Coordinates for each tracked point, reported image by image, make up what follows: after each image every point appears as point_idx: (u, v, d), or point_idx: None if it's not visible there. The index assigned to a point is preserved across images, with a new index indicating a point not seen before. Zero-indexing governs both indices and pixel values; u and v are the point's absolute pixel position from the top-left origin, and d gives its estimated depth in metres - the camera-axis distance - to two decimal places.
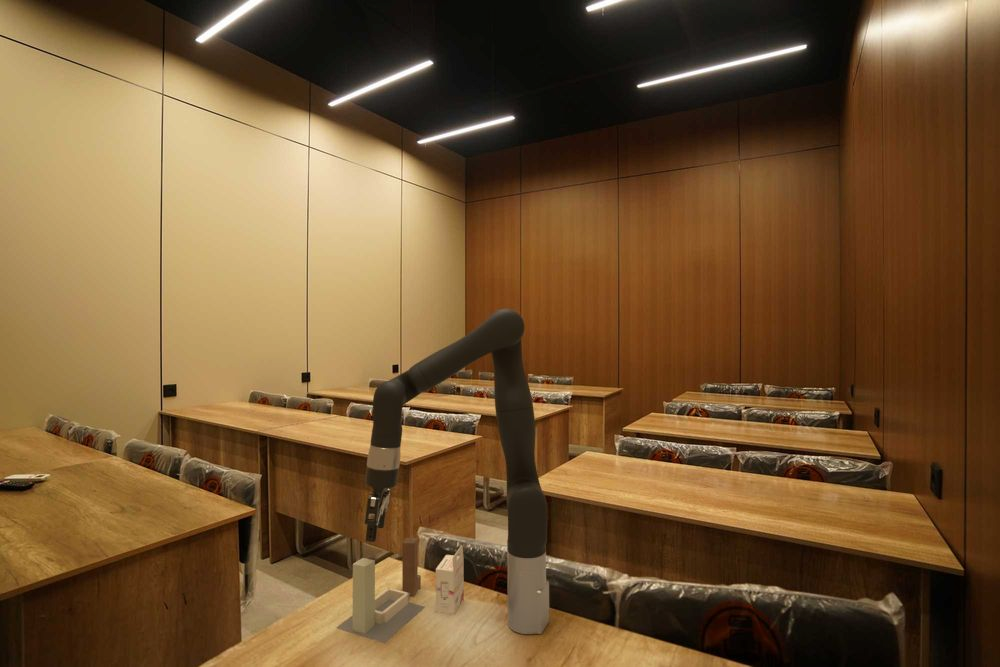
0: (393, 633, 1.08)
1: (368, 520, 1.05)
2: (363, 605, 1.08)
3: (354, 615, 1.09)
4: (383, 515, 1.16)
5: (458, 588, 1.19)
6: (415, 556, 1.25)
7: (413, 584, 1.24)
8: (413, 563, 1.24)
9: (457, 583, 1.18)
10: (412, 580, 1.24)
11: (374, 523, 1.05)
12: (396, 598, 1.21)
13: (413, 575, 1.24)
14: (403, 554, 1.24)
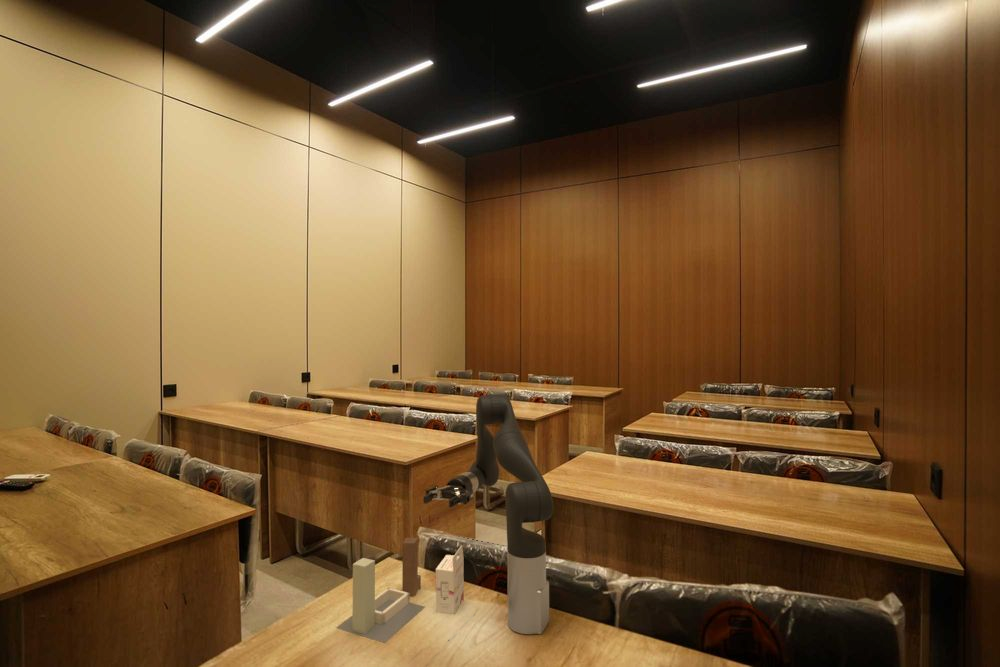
0: (393, 633, 1.08)
1: None
2: (363, 605, 1.08)
3: (354, 615, 1.09)
4: None
5: (458, 588, 1.19)
6: (415, 556, 1.25)
7: (413, 584, 1.24)
8: (413, 563, 1.24)
9: (457, 583, 1.18)
10: (412, 580, 1.24)
11: None
12: (396, 598, 1.21)
13: (413, 575, 1.24)
14: (403, 554, 1.24)
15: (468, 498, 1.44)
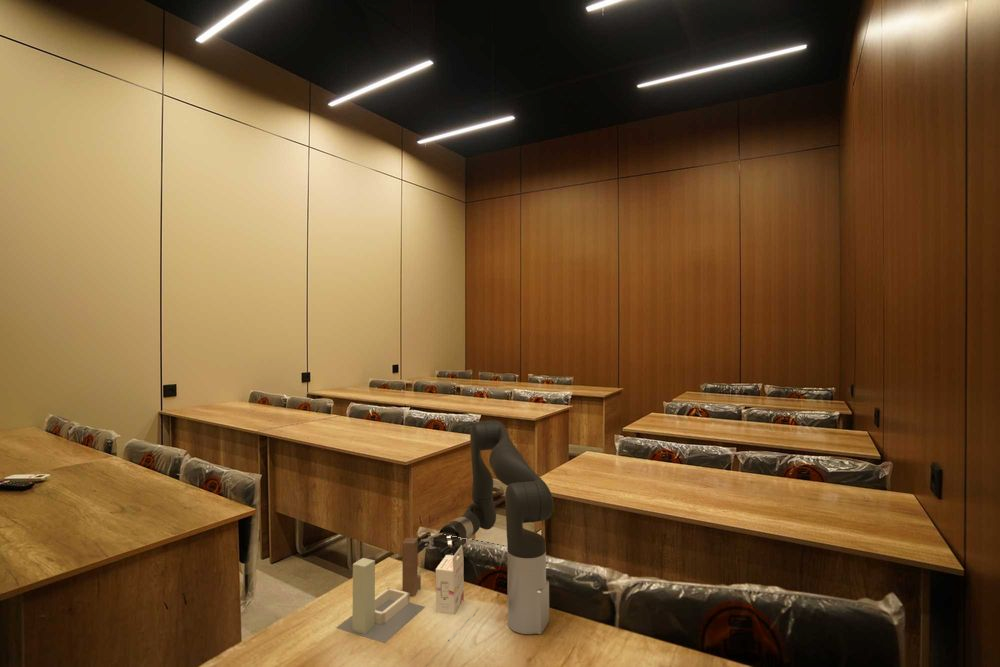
0: (393, 633, 1.08)
1: None
2: (363, 605, 1.08)
3: (354, 615, 1.09)
4: None
5: (458, 588, 1.19)
6: (415, 556, 1.25)
7: (413, 584, 1.24)
8: (413, 563, 1.24)
9: (457, 583, 1.18)
10: (412, 580, 1.24)
11: None
12: (396, 598, 1.21)
13: (413, 575, 1.24)
14: (403, 554, 1.24)
15: None
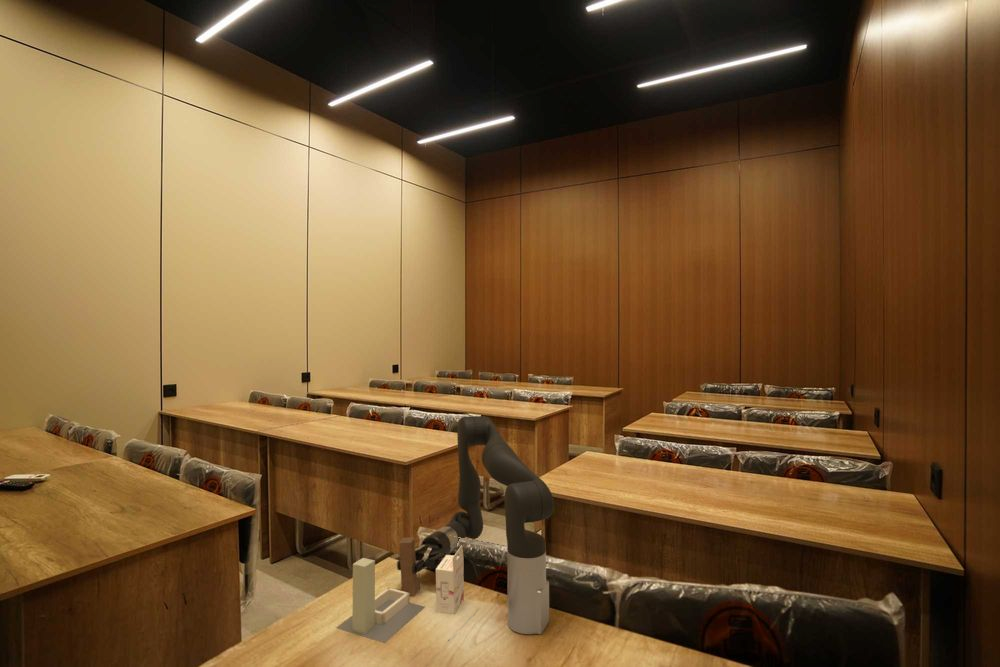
0: (393, 633, 1.08)
1: None
2: (363, 605, 1.08)
3: (354, 615, 1.09)
4: None
5: (458, 588, 1.19)
6: (412, 555, 1.25)
7: (412, 583, 1.24)
8: (411, 562, 1.24)
9: (457, 583, 1.18)
10: (411, 579, 1.24)
11: None
12: (396, 598, 1.21)
13: (412, 574, 1.24)
14: (400, 554, 1.24)
15: (437, 562, 1.29)
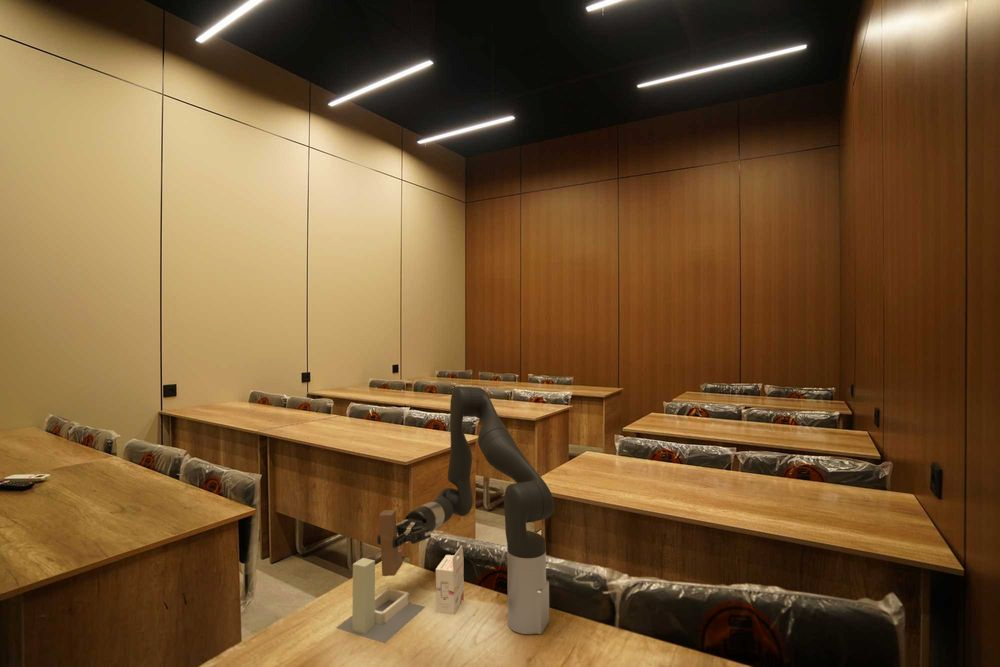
0: (393, 633, 1.08)
1: None
2: (363, 605, 1.08)
3: (354, 615, 1.09)
4: None
5: (458, 588, 1.19)
6: (393, 529, 1.18)
7: (392, 558, 1.17)
8: (391, 536, 1.17)
9: (457, 583, 1.18)
10: (391, 553, 1.17)
11: None
12: (396, 598, 1.21)
13: (392, 548, 1.17)
14: (380, 527, 1.17)
15: (420, 536, 1.22)
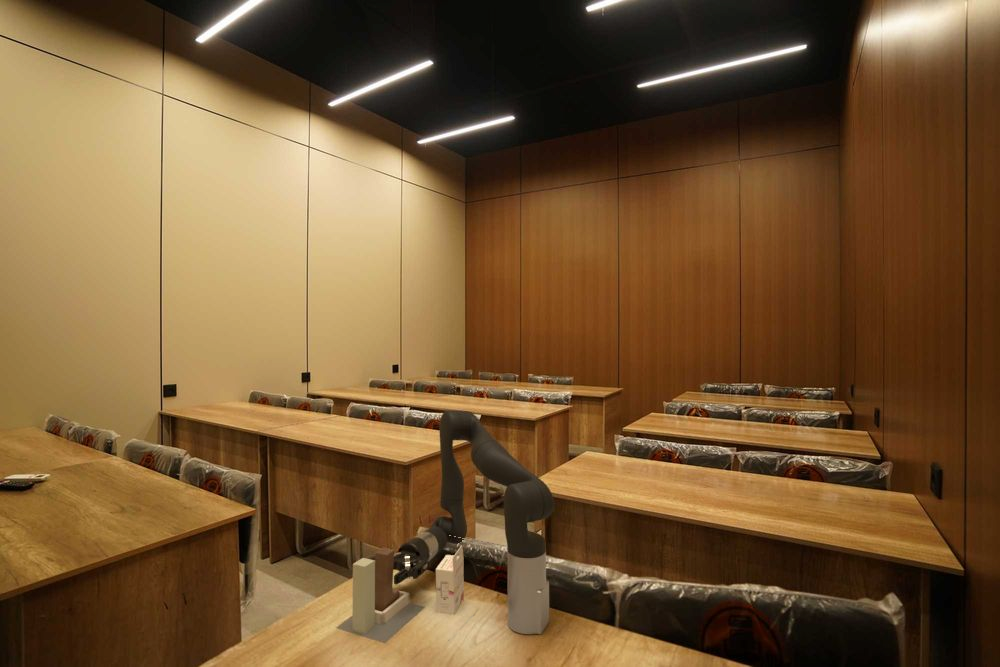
0: (393, 633, 1.08)
1: None
2: (363, 605, 1.08)
3: (354, 615, 1.09)
4: None
5: (458, 588, 1.19)
6: (388, 569, 1.15)
7: (383, 599, 1.14)
8: (384, 576, 1.14)
9: (457, 583, 1.18)
10: (382, 594, 1.14)
11: None
12: None
13: (384, 589, 1.14)
14: (376, 565, 1.15)
15: (420, 570, 1.19)
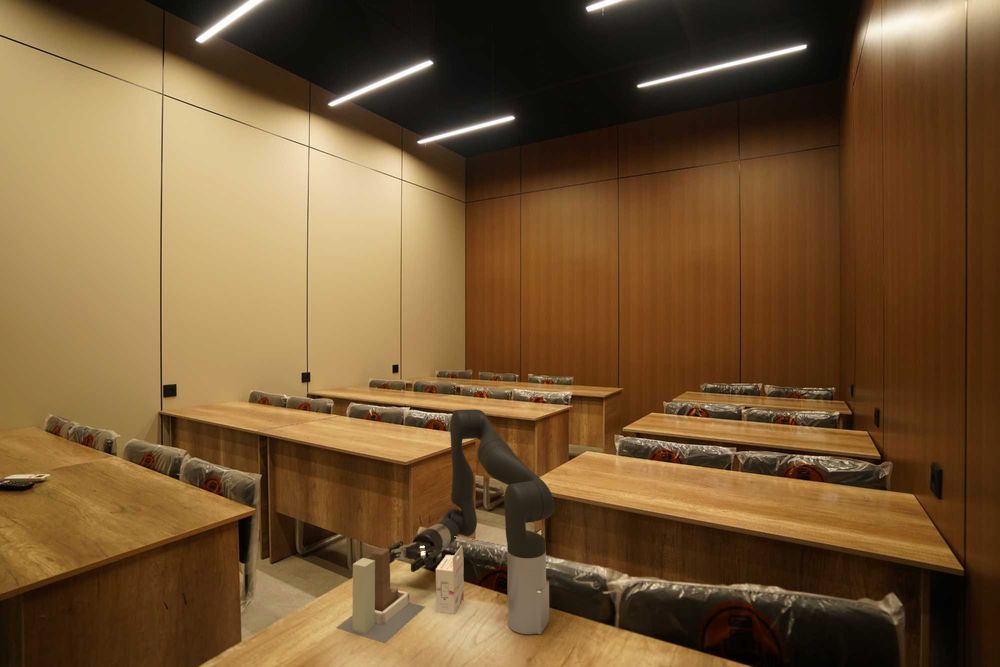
0: (393, 633, 1.08)
1: None
2: (363, 605, 1.08)
3: (354, 615, 1.09)
4: None
5: (458, 588, 1.19)
6: (384, 569, 1.15)
7: (382, 599, 1.14)
8: (381, 576, 1.14)
9: (457, 583, 1.18)
10: (380, 594, 1.14)
11: None
12: None
13: (382, 589, 1.14)
14: None
15: (435, 559, 1.25)
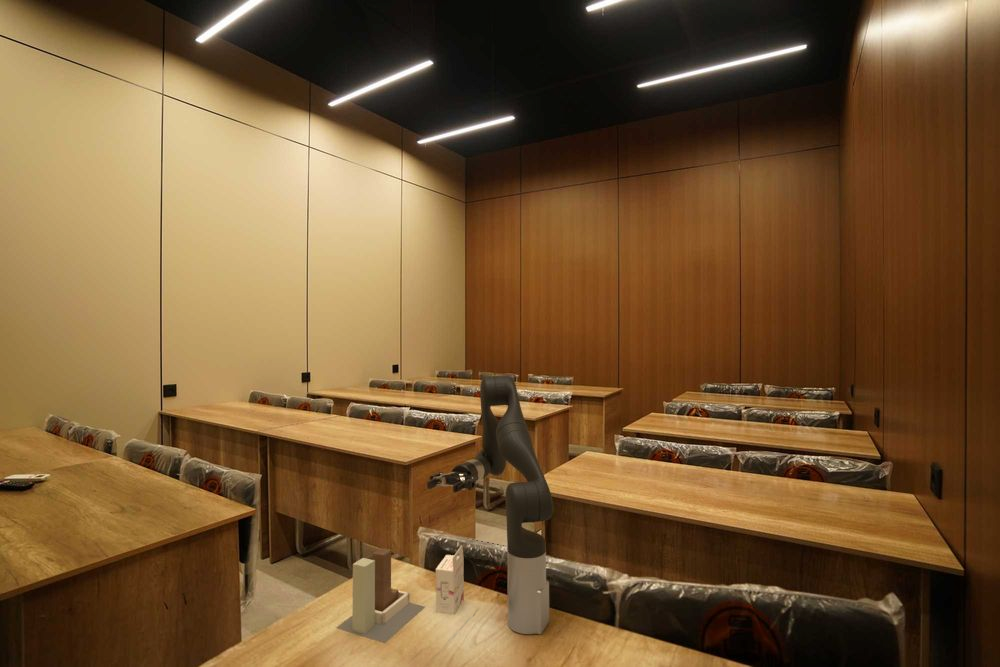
0: (393, 633, 1.08)
1: None
2: (363, 605, 1.08)
3: (354, 615, 1.09)
4: None
5: (458, 588, 1.19)
6: (386, 569, 1.15)
7: (382, 600, 1.14)
8: (382, 577, 1.14)
9: (457, 583, 1.18)
10: (381, 595, 1.14)
11: None
12: None
13: (382, 590, 1.14)
14: None
15: (473, 484, 1.39)
